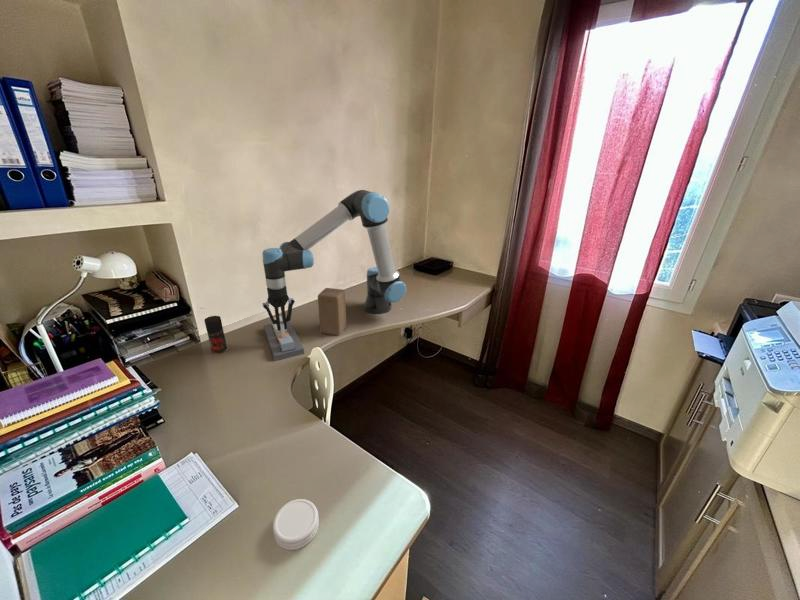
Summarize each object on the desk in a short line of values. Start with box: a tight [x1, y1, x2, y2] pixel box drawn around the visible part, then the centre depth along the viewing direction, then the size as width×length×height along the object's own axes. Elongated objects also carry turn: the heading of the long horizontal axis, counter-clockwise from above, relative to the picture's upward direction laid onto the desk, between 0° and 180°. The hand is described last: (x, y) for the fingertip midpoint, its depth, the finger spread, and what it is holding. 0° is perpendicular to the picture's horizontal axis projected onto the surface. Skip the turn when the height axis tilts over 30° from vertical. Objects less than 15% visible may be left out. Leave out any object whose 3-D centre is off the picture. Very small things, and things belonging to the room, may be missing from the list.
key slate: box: [279, 336, 294, 352], centre depth 142 cm, size 5×5×4 cm
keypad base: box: [263, 320, 305, 361], centre depth 152 cm, size 12×29×2 cm, turn 28°
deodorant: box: [204, 315, 228, 354], centre depth 142 cm, size 6×6×15 cm
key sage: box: [273, 324, 287, 337], centre depth 154 cm, size 5×5×4 cm
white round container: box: [272, 498, 320, 551], centre depth 78 cm, size 10×10×4 cm
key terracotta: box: [276, 333, 290, 344], centre depth 149 cm, size 5×5×4 cm
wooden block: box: [317, 287, 347, 336], centre depth 159 cm, size 10×10×20 cm
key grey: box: [270, 315, 283, 330], centre depth 159 cm, size 5×5×4 cm
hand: (283, 335), depth 148 cm, fingers closed
